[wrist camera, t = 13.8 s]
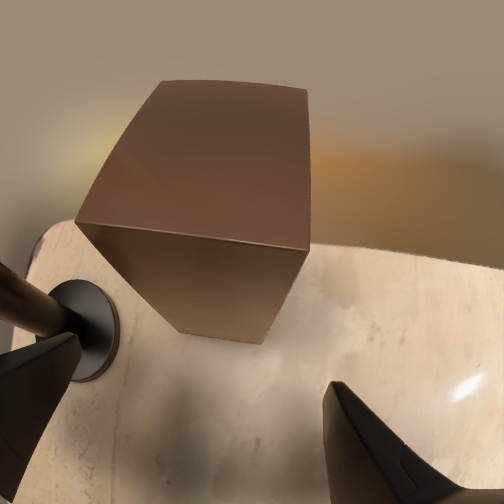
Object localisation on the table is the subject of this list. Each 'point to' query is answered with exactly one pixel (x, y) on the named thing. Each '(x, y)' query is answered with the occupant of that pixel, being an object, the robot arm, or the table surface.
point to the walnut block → (208, 204)
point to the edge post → (64, 317)
